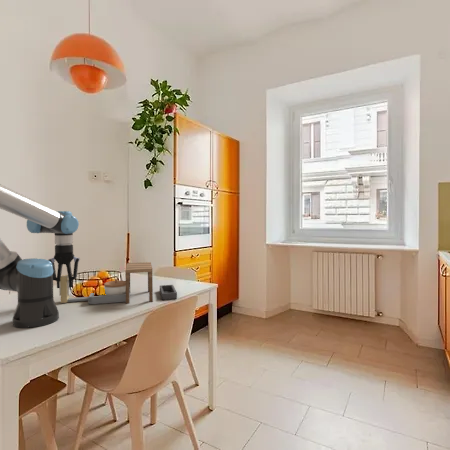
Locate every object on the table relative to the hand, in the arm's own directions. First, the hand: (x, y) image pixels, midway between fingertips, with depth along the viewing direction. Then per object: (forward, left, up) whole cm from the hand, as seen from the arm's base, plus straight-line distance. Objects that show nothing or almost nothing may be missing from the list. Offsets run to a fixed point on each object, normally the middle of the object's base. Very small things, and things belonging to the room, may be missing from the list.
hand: (64, 294), depth 145 cm
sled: (0, -14, -3) cm, 14 cm away
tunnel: (0, -33, -4) cm, 34 cm away
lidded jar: (0, -23, -4) cm, 23 cm away
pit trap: (0, -47, -4) cm, 48 cm away
